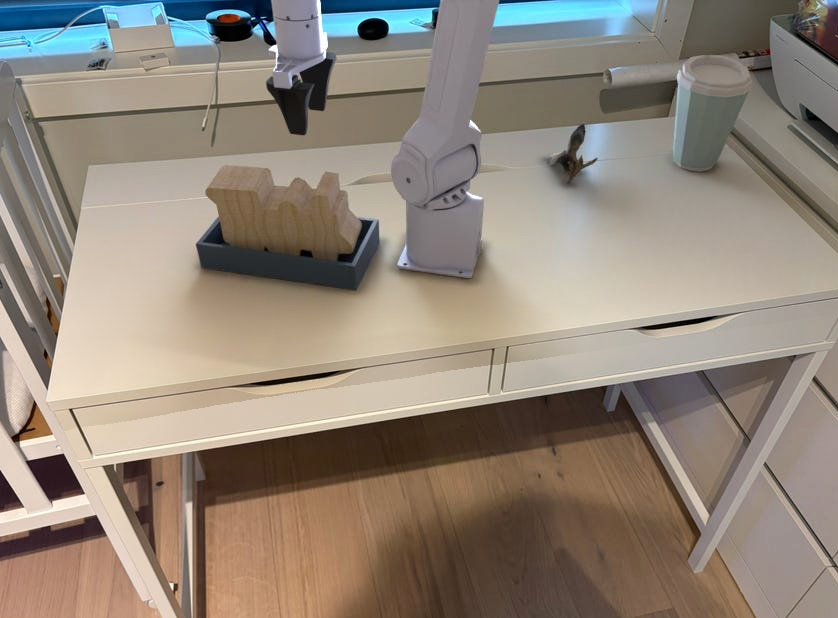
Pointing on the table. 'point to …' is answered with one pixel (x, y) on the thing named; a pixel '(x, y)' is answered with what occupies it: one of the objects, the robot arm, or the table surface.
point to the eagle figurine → (571, 155)
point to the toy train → (283, 213)
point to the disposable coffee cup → (707, 108)
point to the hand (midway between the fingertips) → (308, 121)
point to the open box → (291, 259)
